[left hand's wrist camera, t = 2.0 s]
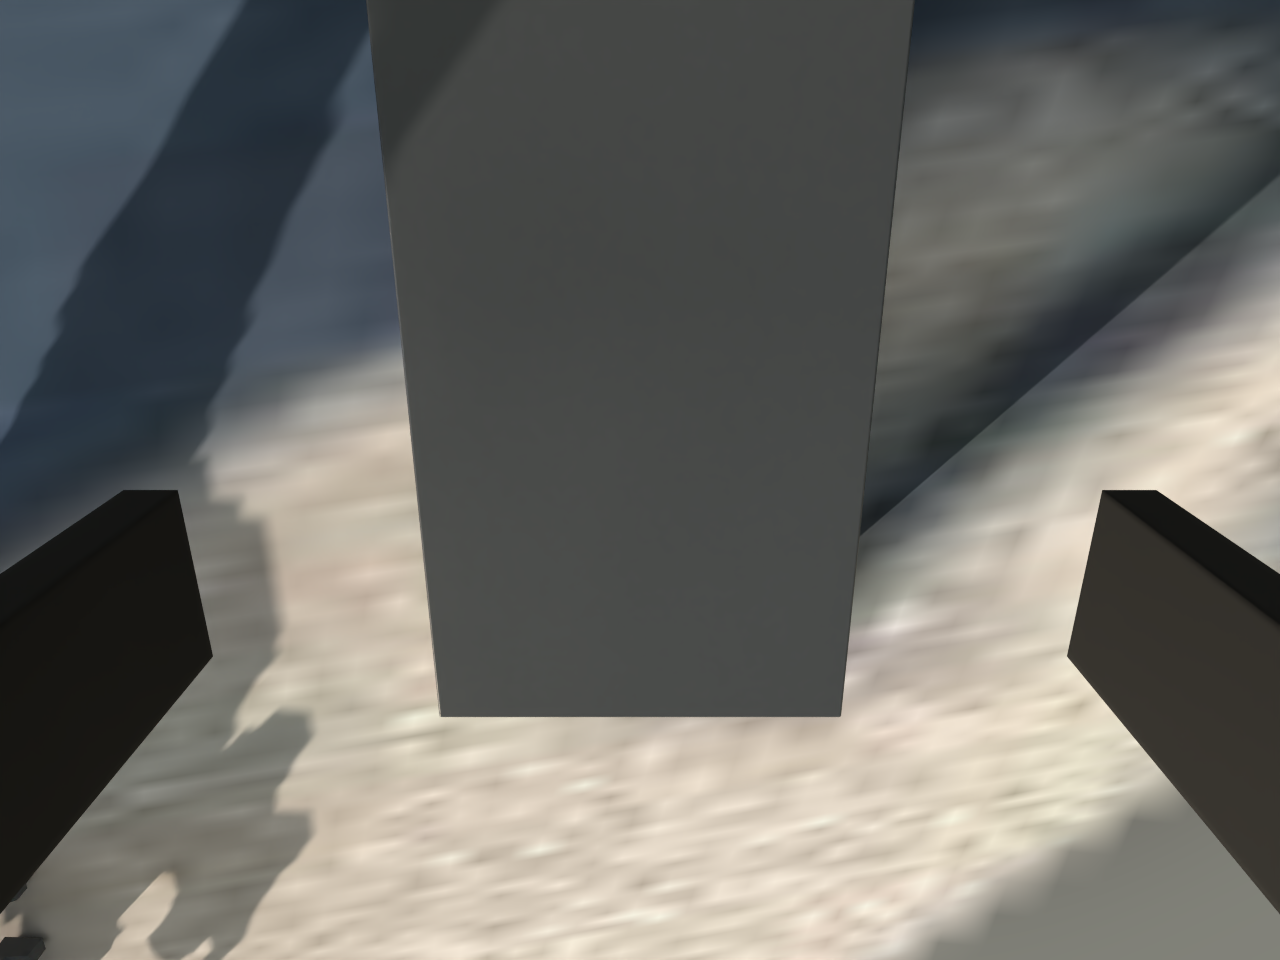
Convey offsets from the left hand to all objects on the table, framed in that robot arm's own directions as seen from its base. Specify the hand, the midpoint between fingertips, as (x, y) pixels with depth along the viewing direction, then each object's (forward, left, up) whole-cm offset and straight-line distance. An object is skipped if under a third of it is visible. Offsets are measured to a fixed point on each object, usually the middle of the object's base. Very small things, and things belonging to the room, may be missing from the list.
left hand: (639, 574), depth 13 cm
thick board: (+2, +18, -14) cm, 23 cm away
